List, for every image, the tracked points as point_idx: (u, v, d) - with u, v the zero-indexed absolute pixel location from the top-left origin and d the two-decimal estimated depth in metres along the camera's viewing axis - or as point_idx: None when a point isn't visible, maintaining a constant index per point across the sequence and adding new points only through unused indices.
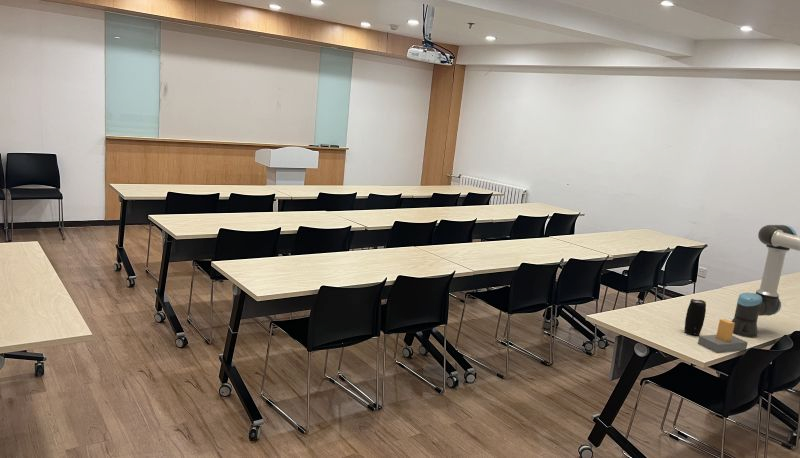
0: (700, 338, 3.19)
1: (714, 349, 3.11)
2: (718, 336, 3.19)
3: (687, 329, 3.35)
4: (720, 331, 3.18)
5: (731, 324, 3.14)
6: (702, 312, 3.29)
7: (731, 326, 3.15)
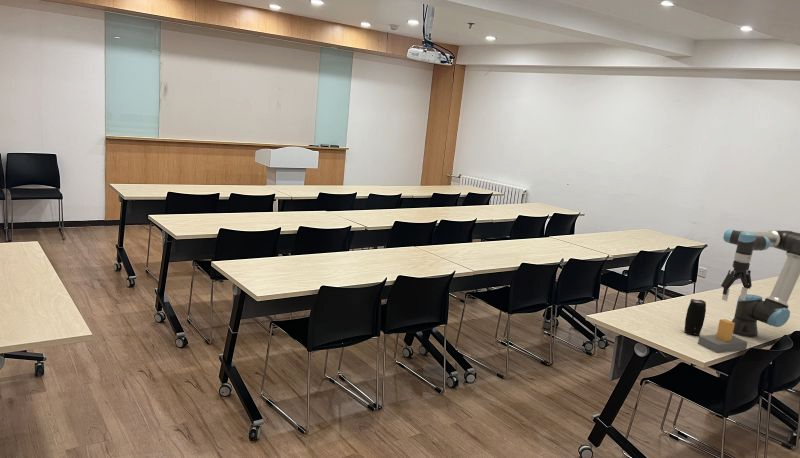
0: (700, 338, 3.19)
1: (714, 349, 3.11)
2: (718, 336, 3.19)
3: (687, 329, 3.35)
4: (720, 331, 3.18)
5: (731, 324, 3.14)
6: (702, 312, 3.29)
7: (731, 326, 3.15)
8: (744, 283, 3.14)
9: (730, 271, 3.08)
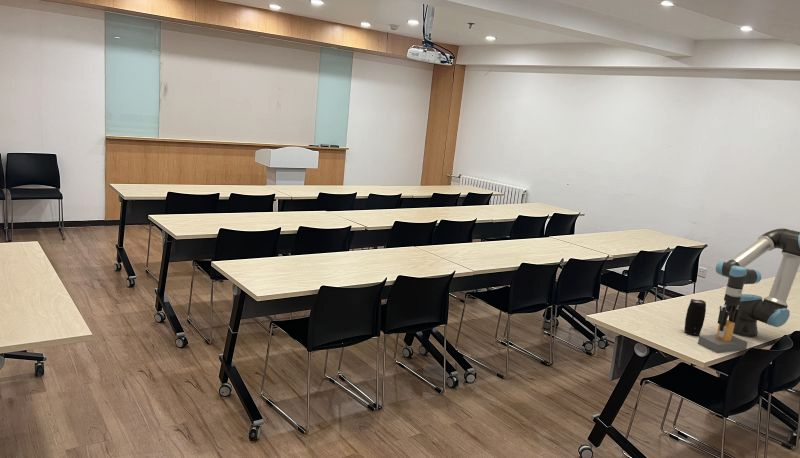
0: (700, 338, 3.19)
1: (714, 349, 3.11)
2: (718, 336, 3.19)
3: (687, 329, 3.35)
4: None
5: (731, 324, 3.14)
6: (702, 312, 3.29)
7: (731, 326, 3.15)
8: (731, 318, 3.17)
9: (721, 308, 3.13)
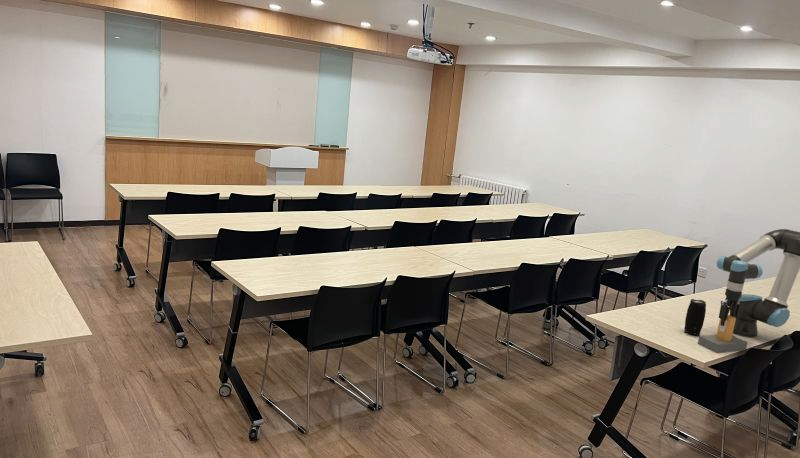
0: (700, 338, 3.19)
1: (714, 349, 3.11)
2: (719, 331, 3.19)
3: (687, 329, 3.35)
4: None
5: (732, 319, 3.14)
6: (702, 312, 3.29)
7: (732, 321, 3.14)
8: (732, 313, 3.17)
9: (722, 303, 3.12)
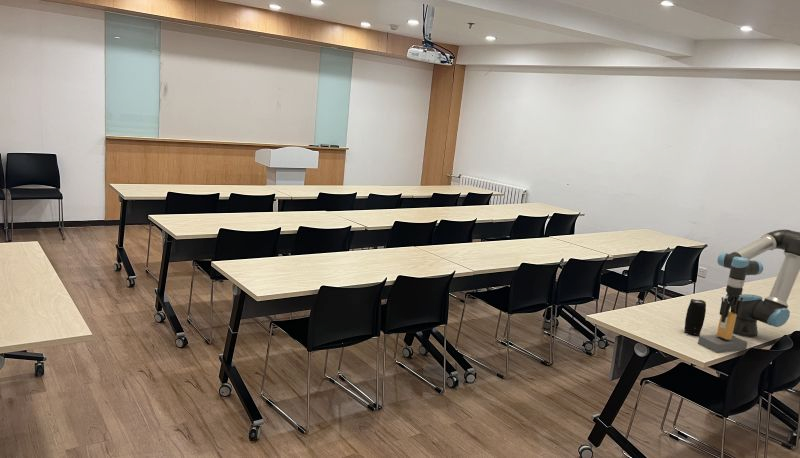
0: (700, 338, 3.19)
1: (714, 349, 3.11)
2: (720, 327, 3.18)
3: (687, 329, 3.35)
4: None
5: (733, 315, 3.13)
6: (702, 312, 3.29)
7: (733, 317, 3.14)
8: (733, 310, 3.16)
9: (723, 299, 3.12)
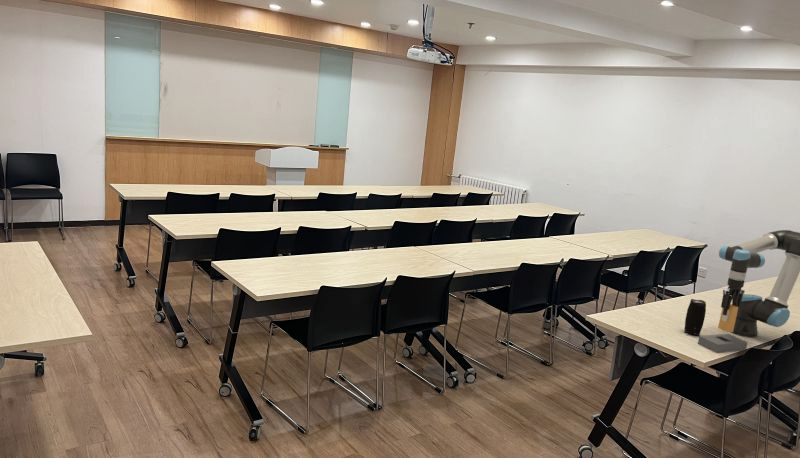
0: (700, 338, 3.19)
1: (714, 349, 3.11)
2: (721, 320, 3.18)
3: (687, 329, 3.35)
4: None
5: (735, 308, 3.12)
6: (702, 312, 3.29)
7: (735, 310, 3.13)
8: (734, 302, 3.15)
9: (725, 292, 3.11)
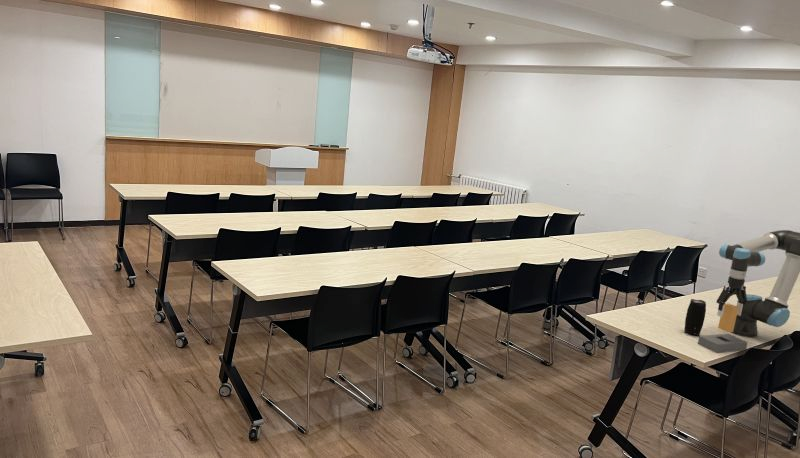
0: (700, 338, 3.19)
1: (714, 349, 3.11)
2: (721, 320, 3.18)
3: (687, 329, 3.35)
4: (723, 315, 3.17)
5: (735, 308, 3.12)
6: (702, 312, 3.29)
7: (735, 310, 3.13)
8: (739, 299, 3.16)
9: (725, 288, 3.11)
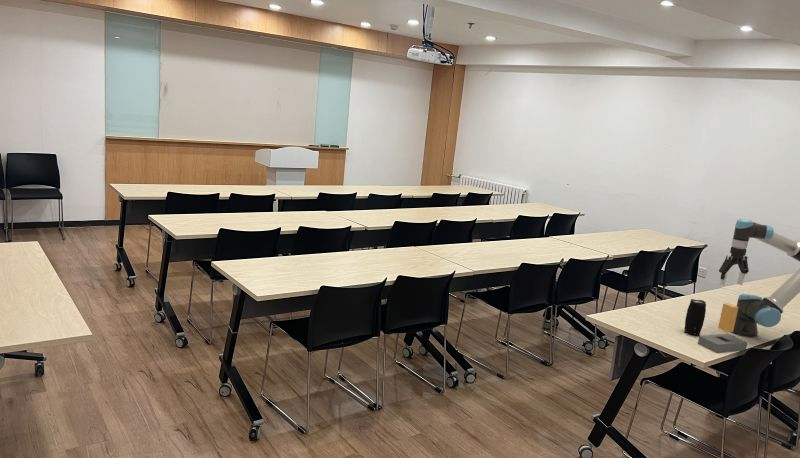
0: (700, 338, 3.19)
1: (714, 349, 3.11)
2: (721, 320, 3.18)
3: (687, 329, 3.35)
4: (723, 315, 3.17)
5: (735, 308, 3.12)
6: (702, 312, 3.29)
7: (735, 310, 3.13)
8: (741, 268, 3.26)
9: (727, 257, 3.21)
